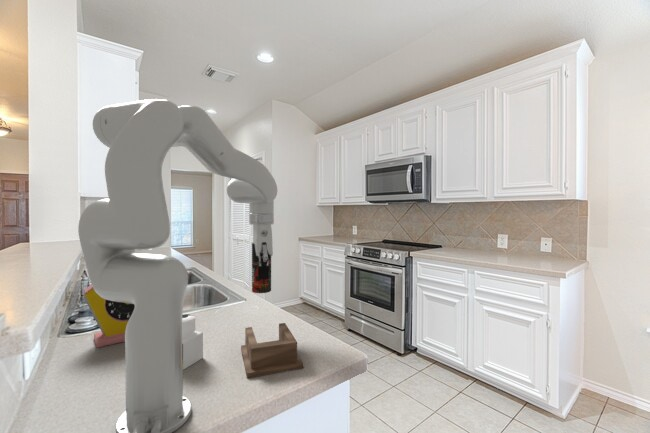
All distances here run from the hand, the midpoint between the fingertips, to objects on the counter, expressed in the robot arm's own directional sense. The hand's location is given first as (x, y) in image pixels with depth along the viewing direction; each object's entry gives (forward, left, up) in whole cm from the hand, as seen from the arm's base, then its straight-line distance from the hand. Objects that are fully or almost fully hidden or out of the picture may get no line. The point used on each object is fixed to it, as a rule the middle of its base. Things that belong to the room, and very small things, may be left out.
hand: (261, 276), depth 97 cm
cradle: (-15, 0, -19) cm, 24 cm away
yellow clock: (+15, +40, -20) cm, 47 cm away
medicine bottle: (-9, +22, -20) cm, 31 cm away
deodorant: (0, 0, -5) cm, 5 cm away
